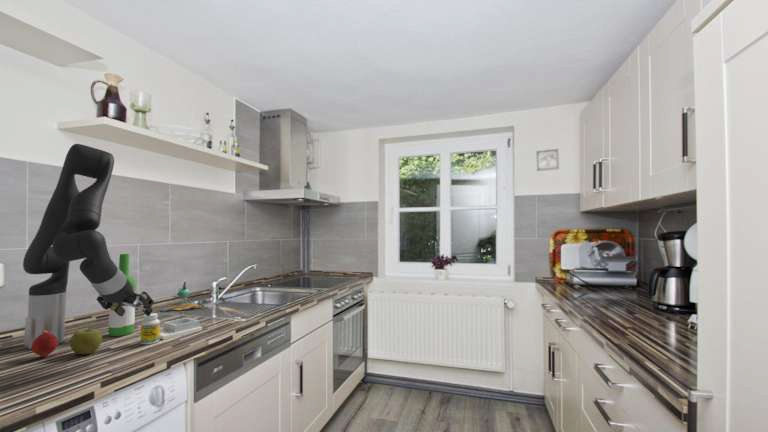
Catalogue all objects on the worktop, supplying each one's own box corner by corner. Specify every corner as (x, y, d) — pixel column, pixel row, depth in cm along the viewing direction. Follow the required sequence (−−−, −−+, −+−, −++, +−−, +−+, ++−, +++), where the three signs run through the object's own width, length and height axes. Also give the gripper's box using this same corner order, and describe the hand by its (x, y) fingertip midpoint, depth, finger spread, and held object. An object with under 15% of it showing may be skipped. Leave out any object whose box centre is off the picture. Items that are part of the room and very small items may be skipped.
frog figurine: (200, 311, 167) (197, 280, 168) (161, 316, 165) (158, 285, 166) (208, 306, 177) (205, 278, 177) (171, 311, 175) (169, 282, 175)
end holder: (160, 340, 121) (161, 329, 121) (144, 335, 127) (145, 325, 127) (202, 330, 134) (202, 320, 134) (185, 325, 140) (186, 316, 140)
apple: (94, 347, 113) (95, 326, 113) (106, 351, 109) (107, 329, 110) (65, 355, 106) (66, 331, 107) (77, 359, 103) (78, 335, 103)
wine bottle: (137, 333, 130) (140, 253, 131) (112, 338, 123) (116, 255, 125) (129, 329, 134) (132, 253, 135) (104, 334, 128) (108, 254, 129)
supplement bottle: (159, 339, 123) (160, 312, 123) (159, 343, 118) (160, 314, 119) (140, 341, 120) (141, 313, 120) (140, 345, 115) (141, 317, 116)
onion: (55, 352, 109) (57, 326, 109) (58, 356, 105) (60, 330, 106) (29, 357, 104) (31, 330, 105) (32, 361, 101) (33, 334, 101)
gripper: (142, 273, 104) (163, 303, 115) (94, 273, 103) (120, 304, 114) (129, 294, 98) (153, 323, 109) (78, 294, 98) (107, 324, 109)
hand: (136, 313), depth 112 cm, fingers open, 8 cm apart
